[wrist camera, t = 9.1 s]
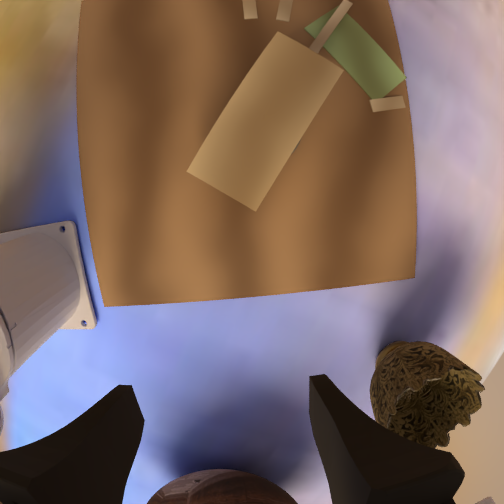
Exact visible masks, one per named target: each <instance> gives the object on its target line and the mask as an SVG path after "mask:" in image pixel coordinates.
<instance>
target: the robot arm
mask: <svg viewBox="0 0 504 504" xmlns="http://www.w3.org/2000/svg"><path fill="white" fill-rule="evenodd" d="M62 226H64V227H65V232H64V231H63V230H62ZM83 320H85V321H86V323H87V324H85V323H84V322H83ZM96 326H97V320H96V316H95V312H94V309H93V305H92V301H91V297H90V293H89V289H88V284H87V280H86V276H85V271H84V266H83V261H82V257H81V251H80V246H79V241H78V235H77V229H76V225H75V223H74V222H73V221H70V220H69V221H63V222H57V223H51V224H46V225H40V226H35V227H29V228H24V229H19V230H14V231H9V232H4V233H0V401H1V400H2V399H3V398H4V397H5V396H6V395H7V393H8V392H9V388H8V380H9V378H10V377H11V376H12V375H13V374H14V373H15V372H16V371H17V370H18V369H19V368H20V367H21V366H22V365H23V363H24V362H25V361H26V360H27V359H28V358H29V357H30V356H32V355H33V354H34V353H35V352H36V351H37V350H38V349H39V348H40V347H41V346H42V345H43V344H44V343H45V342H46V341H47V340H48V339H49V338H50V337H51V336H52V335H53V334H54V333H55V332H56V331H57V330H58V329H94V328H95V327H96ZM309 415H310V420H311V426H312V431H313V435H314V439H315V442H316V445H317V448H318V451H319V454H320V457H321V460H322V463H323V466H324V470H325V473H326V476H327V479H328V483H329V488H330V493H331V499H332V504H456V503H455V502H454V500H453V496H454V495H455V493H456V491H457V490H458V489H459V487H460V485H461V484H462V481H463V479H464V477H465V472H464V471H463V469H462V467H461V466H460V464H459V463H458V461H457V460H456V459H455V457H454V456H453V455H452V454H451V453H450V452H446V451H442V450H438V449H434V448H431V447H427V446H424V445H422V444H419V443H416V442H413V441H411V440H409V439H406V438H404V437H402V436H400V435H398V434H396V433H394V432H392V431H390V430H389V429H387V428H385V427H384V426H382V425H380V424H379V423H377V422H376V421H375V420H373V419H372V418H370V417H369V416H368V415H367V414H365V413H364V412H363V411H362V410H360V409H359V408H358V407H357V406H356V405H355V404H354V403H352V402H351V401H350V400H349V399H348V398H347V397H346V396H345V395H344V394H343V393H342V392H341V391H340V390H339V389H338V388H337V387H336V386H335V384H334V383H333V382H332V381H331V380H330V379H329V378H328V376H327V375H325V374H322V375H315V376H309ZM144 421H145V420H144V418H143V415H142V413H141V410H140V407H139V404H138V402H137V399H136V396H135V393H134V391H133V388H132V385H118V386H117V387H115V388H114V389H113V390H111V391H110V392H109V393H108V394H107V395H105V396H104V397H103V398H102V399H101V400H99V401H98V402H97V403H96V404H94V405H93V406H92V407H91V408H90V409H88V410H87V411H86V412H84V413H83V414H82V415H80V416H79V417H78V418H76V419H75V420H74V421H72V422H71V423H69V424H68V425H66V426H65V427H63V428H61V429H60V430H58V431H56V432H54V433H53V434H51V435H49V436H47V437H44V438H42V439H40V440H38V441H36V442H33V443H31V444H28V445H25V446H22V447H19V448H16V449H12V450H8V451H3V452H0V502H1V503H2V504H122V501H123V496H124V490H125V486H126V482H127V479H128V476H129V473H130V470H131V467H132V464H133V462H134V459H135V456H136V453H137V450H138V447H139V444H140V441H141V437H142V432H143V427H144ZM3 423H4V420H3V412H2V408H1V406H0V435H1V432H2V429H3ZM475 504H495V502H494V501H493V499H492V498H491V497H487V498H485V499H483V500H481V501H479V502H477V503H475Z"/></svg>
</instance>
